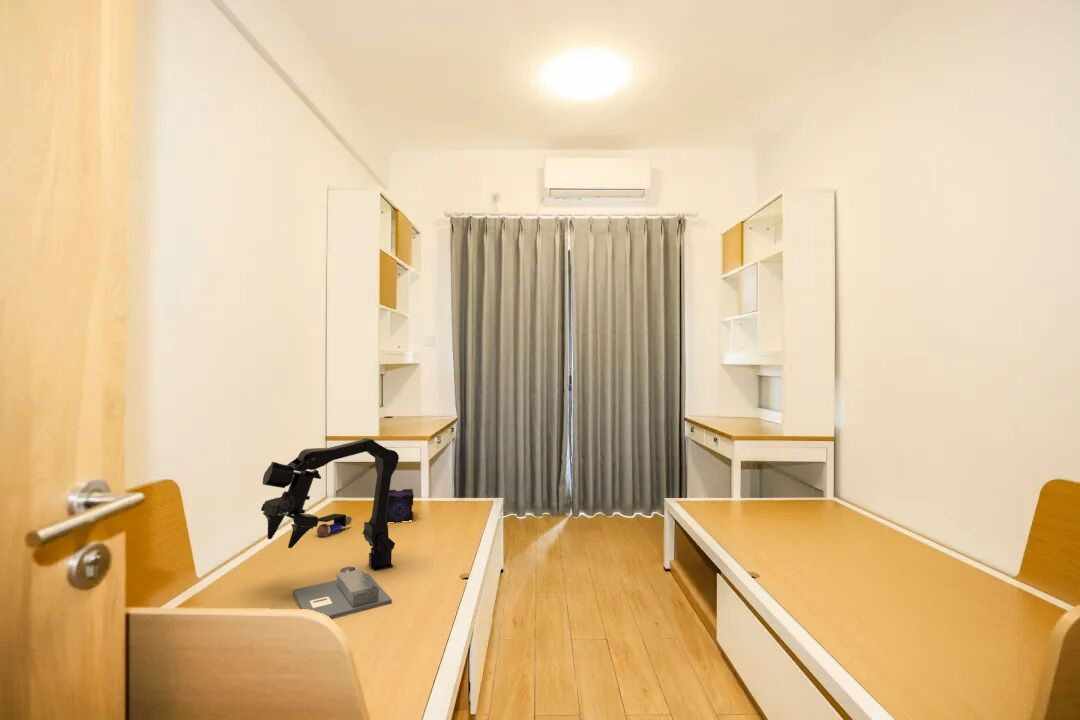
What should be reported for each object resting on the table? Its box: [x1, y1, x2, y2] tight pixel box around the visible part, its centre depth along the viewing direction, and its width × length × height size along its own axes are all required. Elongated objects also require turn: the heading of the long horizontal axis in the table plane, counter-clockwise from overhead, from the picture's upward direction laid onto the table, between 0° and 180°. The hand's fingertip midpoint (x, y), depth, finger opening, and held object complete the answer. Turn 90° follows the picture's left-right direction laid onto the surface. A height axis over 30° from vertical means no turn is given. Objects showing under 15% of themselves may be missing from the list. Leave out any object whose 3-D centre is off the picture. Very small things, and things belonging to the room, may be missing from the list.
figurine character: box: [316, 513, 352, 538], centre depth 196 cm, size 7×8×15 cm
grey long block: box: [336, 566, 379, 607], centre depth 142 cm, size 21×7×3 cm, turn 37°
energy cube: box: [386, 488, 414, 523], centre depth 217 cm, size 12×12×12 cm
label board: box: [292, 572, 393, 620], centre depth 139 cm, size 22×22×1 cm
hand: (279, 543), depth 142 cm, fingers open, 9 cm apart
